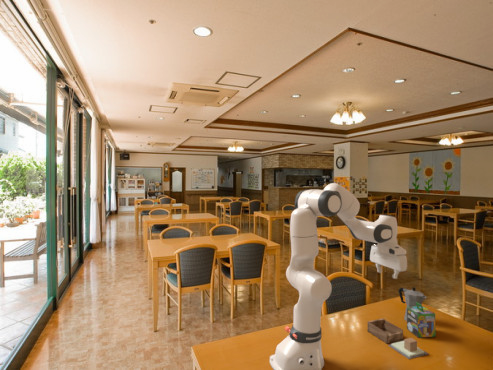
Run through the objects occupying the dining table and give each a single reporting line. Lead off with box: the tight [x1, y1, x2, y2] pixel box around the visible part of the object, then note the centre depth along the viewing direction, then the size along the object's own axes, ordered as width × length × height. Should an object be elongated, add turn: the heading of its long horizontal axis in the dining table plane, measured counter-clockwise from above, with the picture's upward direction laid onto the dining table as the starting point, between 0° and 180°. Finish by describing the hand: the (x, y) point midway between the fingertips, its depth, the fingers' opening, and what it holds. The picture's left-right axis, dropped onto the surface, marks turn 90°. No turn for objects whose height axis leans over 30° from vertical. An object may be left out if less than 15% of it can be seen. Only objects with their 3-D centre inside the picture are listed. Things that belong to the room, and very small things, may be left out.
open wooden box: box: [367, 318, 404, 345], centre depth 143 cm, size 10×12×5 cm
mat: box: [387, 343, 429, 360], centre depth 131 cm, size 11×11×1 cm
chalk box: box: [406, 302, 437, 339], centre depth 146 cm, size 9×9×15 cm
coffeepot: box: [398, 286, 427, 322], centre depth 160 cm, size 15×9×18 cm, turn 29°
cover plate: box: [390, 337, 425, 357], centre depth 131 cm, size 9×10×5 cm
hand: (387, 275), depth 146 cm, fingers open, 8 cm apart
